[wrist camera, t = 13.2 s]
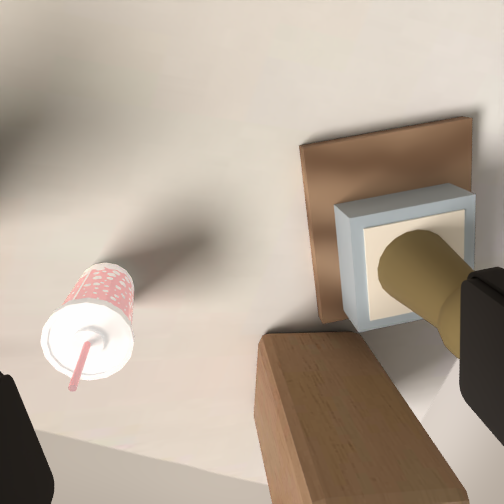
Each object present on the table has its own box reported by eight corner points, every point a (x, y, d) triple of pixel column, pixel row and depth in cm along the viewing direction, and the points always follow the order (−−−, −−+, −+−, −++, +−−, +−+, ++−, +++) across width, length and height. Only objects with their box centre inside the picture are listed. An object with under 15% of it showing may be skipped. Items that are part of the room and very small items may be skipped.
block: (251, 417, 48) (296, 635, 29) (257, 329, 44) (312, 514, 26) (347, 412, 49) (447, 617, 31) (360, 327, 46) (481, 500, 27)
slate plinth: (333, 204, 40) (350, 219, 36) (448, 182, 40) (477, 194, 36) (343, 310, 43) (359, 333, 39) (448, 288, 44) (474, 309, 40)
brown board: (299, 145, 39) (303, 148, 38) (462, 116, 40) (472, 118, 39) (318, 316, 45) (323, 324, 43) (460, 286, 46) (468, 293, 44)
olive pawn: (465, 254, 38) (569, 321, 28) (416, 312, 39) (499, 397, 29) (411, 215, 36) (502, 272, 26) (362, 277, 37) (430, 355, 27)
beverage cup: (88, 328, 42) (47, 443, 29) (56, 268, 40) (-4, 364, 27) (154, 305, 42) (142, 409, 29) (126, 243, 40) (99, 327, 27)
